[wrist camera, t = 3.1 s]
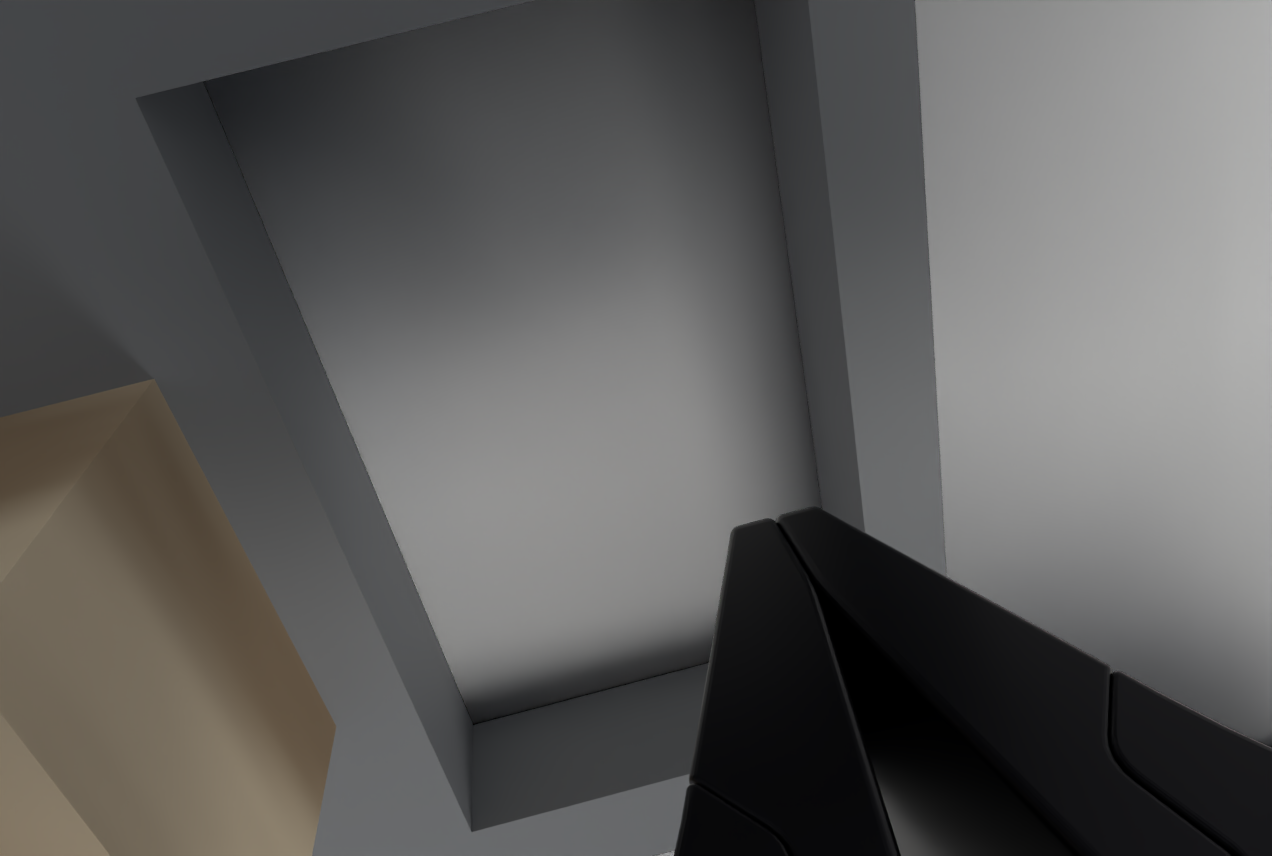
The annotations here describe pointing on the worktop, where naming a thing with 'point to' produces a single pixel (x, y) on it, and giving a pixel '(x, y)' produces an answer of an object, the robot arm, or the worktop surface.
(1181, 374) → the worktop surface
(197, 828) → the maple block
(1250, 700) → the worktop surface
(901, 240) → the trap deck
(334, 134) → the worktop surface
